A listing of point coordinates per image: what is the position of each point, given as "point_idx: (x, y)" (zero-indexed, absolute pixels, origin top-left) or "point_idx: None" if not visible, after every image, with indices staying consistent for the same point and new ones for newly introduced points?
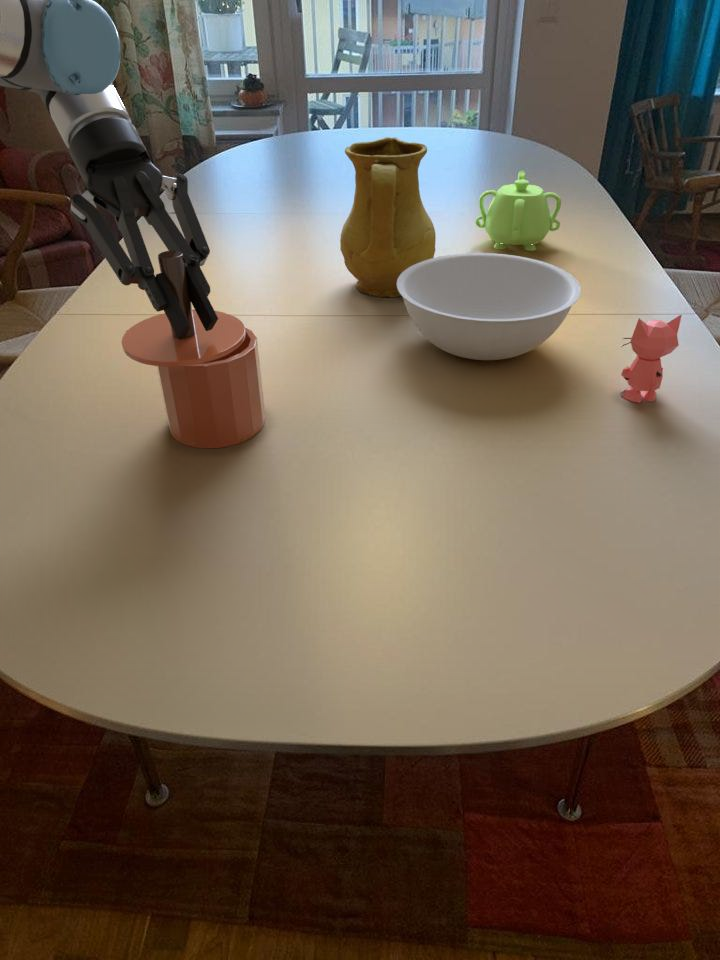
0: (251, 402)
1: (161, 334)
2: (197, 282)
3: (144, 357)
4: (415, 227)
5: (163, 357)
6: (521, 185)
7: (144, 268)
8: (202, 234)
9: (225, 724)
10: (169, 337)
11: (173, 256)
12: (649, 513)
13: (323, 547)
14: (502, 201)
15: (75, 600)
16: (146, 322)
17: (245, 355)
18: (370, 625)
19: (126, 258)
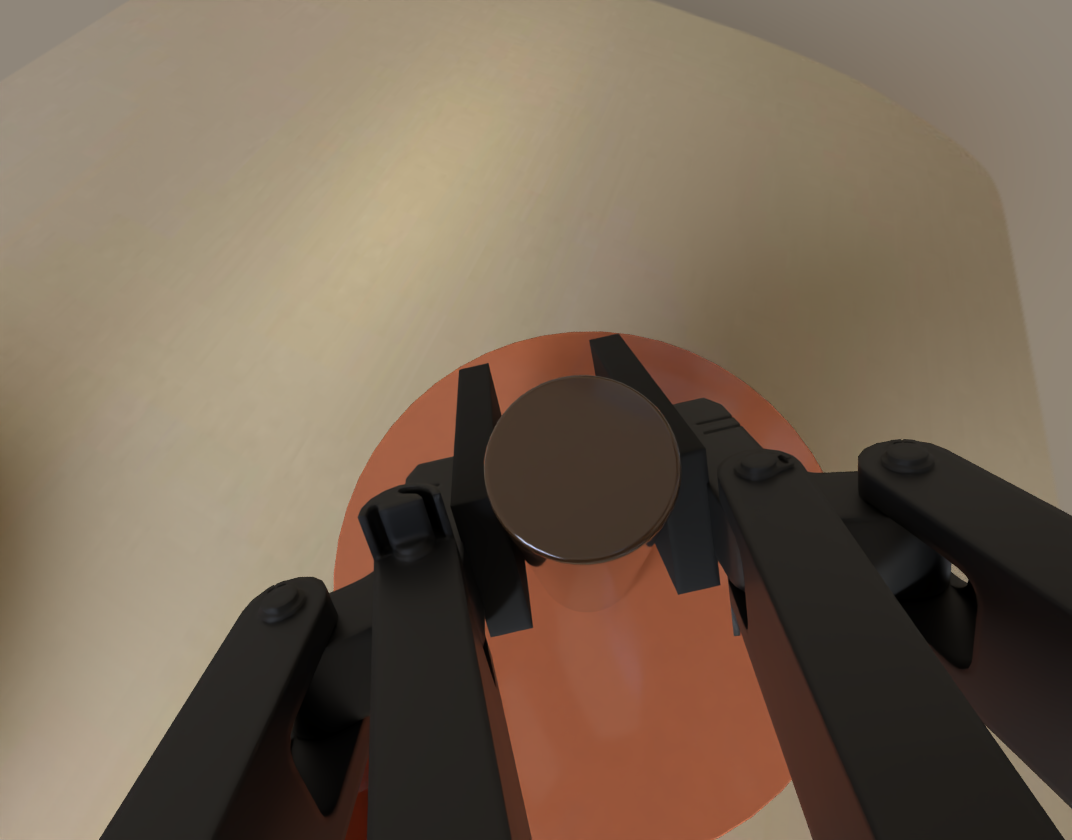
0: None
1: (677, 603)
2: (467, 446)
3: (775, 421)
4: None
5: (706, 393)
6: None
7: (787, 474)
8: (183, 722)
9: (718, 31)
10: (651, 554)
11: (570, 401)
12: (31, 127)
13: (484, 235)
14: None
15: (903, 274)
16: (721, 786)
17: None
18: (499, 90)
19: (949, 509)
